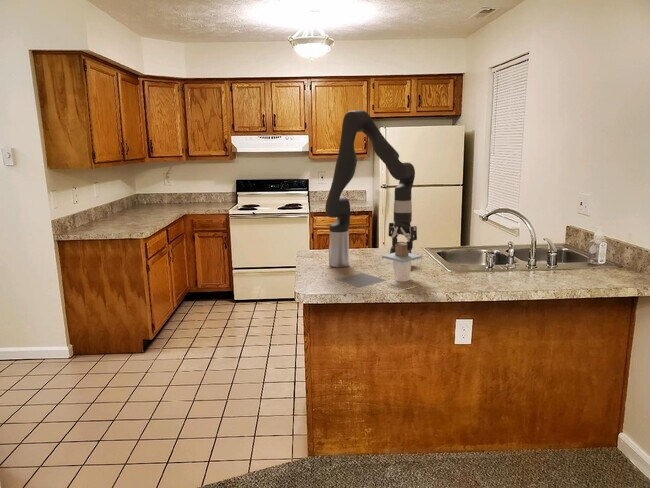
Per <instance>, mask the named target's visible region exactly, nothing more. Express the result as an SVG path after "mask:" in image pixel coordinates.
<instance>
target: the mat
mask: <svg viewBox="0 0 650 488" xmlns="http://www.w3.org/2000/svg"><path fill="white" fill-rule="evenodd" d="M335 281H339V282H341V283H345V284H348V285H351V286H354V287H355V288H362V287H366V286H370V285H374V284H378V283H382V282H385V281H387V279H385V278H381V277H377V276H374V275H371V274H367V273H364V272H360V273H355V274H352V275H347V276H343V277H338V278H335Z"/></svg>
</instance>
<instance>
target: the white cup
mask: <svg viewBox="0 0 650 488" xmlns="http://www.w3.org/2000/svg"><path fill="white" fill-rule="evenodd" d="M411 268H412V261H407V262H403V263H401V262H397V261H393V260H392V269H393V270H392V271H393V280H394V281H396V282H409V281H410V279H411V272H412V271H411V270H412V269H411Z"/></svg>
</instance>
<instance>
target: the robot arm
mask: <svg viewBox="0 0 650 488" xmlns="http://www.w3.org/2000/svg"><path fill="white" fill-rule="evenodd" d="M377 126H378V125H376V123H375V121H374V120H373V118H372V117H371V115H370V114H369V113H368V112H367V111H366V110H362V109H358V110H349V111H347V112H346V113H345V115H344V116H343V119H342V127H341V135H340V142H339V148H338V152H337V153H338V154H337V159H336V163H335V167H334V173H333V177H332V178H333V179H332V182H331V185H330V189H329V192H328V196H327V199H326V202H325V207H324V208H325V209H324V210H325V214H326V216H327V217H329V218H337V219H336V220H335V221H334V222H333V223H331V224H330V225H329V227H328V229H329V245H328V265H329V266H330V267H333V268H345V267H349V266H350V261H349V259H350V250H349V249H350V246H349V245H350V244H349V242H350V241H349V240H350V239H349V233H350V232H349V227H350V224H351V222H350V221H351V203H350V201H349V199H348V198H347V197H345V196H342V193H343V191H344V189H345V188H346V187H347V186H348V184H349V183H350V182H351V181H352V179H353V177H354V176H355V172H356V168H357V165H358V164H357V163H358V159H357V155H356V154H357V153H356V150H355V141H356V136H357V133H363V134H364V135H365V136H366V137H368V139H369V140H370V142H371V146H372V149H373V151H374V153H375V155H376V156H377V157H378V158H379V159H380V161H382V162H383V163H384V165H385V167H386V169H387V171H388V172H389V175H390V176H391V177H392V178H393V179H395V180H396V181H399V182H398V185H396V186H395V188H394V202H393V222H389V224H388V237H390V238H391V241H392V242H391V245H393V247H395V244H397V242H398V237H399V235H401V236H404V238H406V240H407V241H408V242H407V241H406V242H407V250H411V251H412V250H413V246H414V245H413V243H414V241H417V240H418V231H417V230H418V227H417V225H412V224H411V223H412V220H413V219H412V218H413V214H412V213H413V208H412V207H413V204H412V189H413V186H414V181H415V177H416V170H415V167H414V165H413V164H412V163H411V162H403V161H401V160H400V159H399V158H400V154H399V152H398V151H397V150H396V149H395V148H394V147H393V146H392V145H391V144H390V142H389V141H388V140H387V139H386V138H385V137H384V135H383V134H382V132H381V131H380V129H379V128H378V127H377ZM341 196H342V197H341Z"/></svg>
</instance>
